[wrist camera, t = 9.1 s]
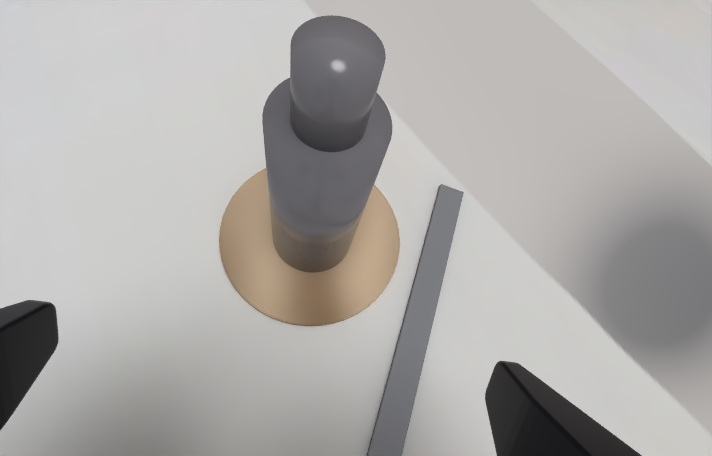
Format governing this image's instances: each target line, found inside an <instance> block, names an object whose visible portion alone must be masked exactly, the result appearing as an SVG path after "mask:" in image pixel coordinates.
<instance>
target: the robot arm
mask: <svg viewBox="0 0 712 456" xmlns="http://www.w3.org/2000/svg"><path fill="white" fill-rule="evenodd" d="M57 344H58V326H57V315H56V308H55V306H54V305H53V304H52V303H50V302H43V301H35V300H27V301H24V302H20V303H17V304H14V305H11V306H7V307H4V308H1V309H0V430H1V429H2V427H3V426H4V425H5V424H6V422H7V421H8V420H9V418H10V417H11V415H12V414H13V413H14V411H15V410H16V408H17V407H18V405H19V404H20V402H21V401H22V399H23V398H24V396H25V395H26V393H27V392H28V390H29V389H30V387H31V386H32V384H33V383H34V381H35V380H36V378H37V377H38V375H39V374H40V372H41V371H42V369H43V368H44V366H45V365H46V363H47V362H48V360H49V359H50V357H51V356H52V354H53V353H54V351H55V349H56V347H57ZM485 400H486V406H487V411H488V415H489V420H490V425H491V429H492V434H493V439H494V443H495V448H496V453H497V456H641V455H640V454H639V453H637V452H636V451H635V450H633V449H632V448H631V447H629V446H628V445H627V444H625V443H624V442H623V441H621V440H620V439H619V438H617V437H616V436H615V435H613V434H612V433H611V432H609V431H608V430H607V429H605V428H604V427H603V426H601V425H600V424H599V423H597V422H596V421H595V420H593V419H592V418H591V417H589V416H588V415H587V414H585V413H584V412H583V411H581V410H580V409H579V408H577V407H576V406H575V405H573V404H572V403H571V402H569V401H568V400H567V399H565V398H564V397H563V396H561V395H560V394H559V393H557V392H556V391H555V390H553V389H552V388H551V387H549V386H548V385H547V384H545V383H544V382H543V381H541V380H540V379H539V378H537V377H536V376H535V375H533V374H532V373H531V372H529V371H528V370H527V369H525V368H524V367H523V366H521V365H520V364H518V363H515V362H507V361H499V362H498V363H497V364H496V365H495V367H494V370H493V373H492V376H491V378H490V381H489V384H488V387H487V389H486V394H485Z"/></svg>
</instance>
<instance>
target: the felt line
mask: <svg viewBox="0 0 712 456" xmlns="http://www.w3.org/2000/svg"><path fill="white" fill-rule="evenodd" d="M462 197H463V192H462V191H459V190H456V189H453V188H450V187H448V186H445V185H442V184H441V185H440V186H439V190H438V194H437V197H436V201H435V205H434V209H433V212H432V216H431V220H430V224H429V227H428V231H427V235H426V238H425V242H424V246H423V250H422V253H421V257H420V261H419V264H418V268H417V272H416V276H415V279H414V283H413V287H412V290H411V294H410V298H409V302H408V305H407V309H406V313H405V316H404V320H403V324H402V328H401V331H400V335H399V339H398V343H397V346H396V350H395V354H394V357H393V361H392V365H391V369H390V372H389V376H388V380H387V383H386V387H385V391H384V395H383V398H382V402H381V406H380V409H379V413H378V417H377V421H376V424H375V428H374V432H373V435H372V439H371V443H370V447H369V450H368V454H367V456H401V455H402V451H403V447H404V443H405V438H406V434H407V430H408V426H409V421H410V417H411V413H412V409H413V404H414V400H415V396H416V392H417V388H418V383H419V379H420V375H421V371H422V366H423V362H424V358H425V354H426V349H427V345H428V341H429V337H430V332H431V328H432V324H433V320H434V315H435V311H436V307H437V303H438V298H439V294H440V290H441V286H442V282H443V277H444V273H445V269H446V265H447V260H448V256H449V252H450V248H451V243H452V239H453V235H454V231H455V226H456V222H457V218H458V214H459V209H460V205H461V201H462Z"/></svg>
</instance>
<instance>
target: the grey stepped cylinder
mask: <svg viewBox="0 0 712 456" xmlns="http://www.w3.org/2000/svg"><path fill="white" fill-rule="evenodd" d="M384 63H385V49H384V46H383V44H382V42H381V40H380V39H379V37H378V36H377V35H376V34H375V33H374V32H373V31H372V30H371V29H370V28H368V27H367V26H365V25H364V24H362V23H360V22H358V21H356V20H353V19H350V18H346V17H341V16H321V17H317V18H314V19H311V20H309V21H307V22H305V23H303V24H302V25H301V26H300V27H299V28H298V29H297V30H296V31H295V33H294V35H293V37H292V40H291V71H290V78H288V79H286V80H285V81H283V82H282V83H281V84H279V85H278V86H277V87H276V88H275V89H274V90H273V91H272V93H271V94H270V95H269V97H268V99H267V101H266V103H265V106H264V110H263V133H264V144H265V156H266V168H267V179H268V191H269V203H270V214H271V226H272V238H273V244H274V247H275V249H276V252H277V253H278V255H279V256H280V258H281V259H282V260H283V261H284V262H285V263H286V264H288V265H289V266H291V267H293V268H295V269H297V270H300V271H303V272H310V273H316V272H323V271H326V270H329V269H331V268H333V267H335V266H336V265H338V264H339V263H340V262H341V261H342V260H343V259H344V258H345V256H346V255H347V253H348V251H349V249H350V246H351V243H352V241H353V238H354V235H355V233H356V230H357V227H358V225H359V222H360V220H361V217H362V214H363V212H364V209H365V206H366V204H367V201H368V198H369V196H370V193H371V191H372V188H373V185H374V183H375V180H376V177H377V175H378V172H379V169H380V167H381V164H382V161H383V159H384V156H385V154H386V151H387V148H388V146H389V143H390V140H391V135H392V121H391V116H390V113H389V110H388V108H387V106H386V104H385V103H384V101H383V100H382V98H381V97H380V96H379V95H378V94H377V93H376V92H377V88H378V85H379V81H380V78H381V74H382V70H383V67H384Z"/></svg>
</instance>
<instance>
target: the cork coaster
mask: <svg viewBox="0 0 712 456" xmlns="http://www.w3.org/2000/svg"><path fill="white" fill-rule="evenodd" d="M219 242H220V253H221V257H222V262H223V265H224V267H225V270H226V273H227V275H228V277H229V279H230V280H231V282H232V284H233V286H234V287H235V288H236V290H237V291H238V292H239V294H240V295H241V296H242V297H243V298H244V299H245V300H246V301H247V302H248V303H249V304H250V305H252V306H253V307H255V308H256V309H257V310H259V311H260V312H262V313H264V314H266V315H267V316H269V317H271V318H274V319H277V320H279V321H282V322H286V323H290V324H294V325H303V326H320V325H326V324H332V323H335V322H339V321H342V320H345V319H347V318H349V317H352V316H354V315H356V314H357V313H359V312H360V311H362V310H364V309H365V308H366V307H368V306H369V305H370V304H371V303H372V302H373V301H375V299H376V298H377V297H378V296H379V295H380V294H381V293H382V291H383V290H384V289H385V287H386V286H387V284H388V283H389V281H390V279H391V277H392V275H393V273H394V271H395V268H396V264H397V261H398V256H399V247H400V238H399V229H398V225H397V221H396V218H395V215H394V213H393V210H392V208H391V206H390V205H389V203H388V201H387V199H386V198H385V197H384V195H383V194H382V193H381V191H380V190H379V189H378V188H377V187H376V186H375V185H373V188H372V191H371V193H370V196H369V198H368V201H367V204H366V206H365V209H364V212H363V214H362V217H361V220H360V222H359V225H358V227H357V230H356V233H355V235H354V238H353V241H352V243H351V246H350V249H349V251H348V253H347V255H346V256H345V258H344V259H343V260H342V261H341V262H340V263H339V264H338V265H336V266H335V267H333V268H331V269H329V270H326V271H323V272H316V273H310V272H303V271H300V270H297V269H295V268H293V267H291V266H289V265H288V264H286V263H285V262H284V261H283V260H282V259H281V258H280V256H279V255H278V253H277V252H276V249H275V247H274V244H273V238H272V226H271V214H270V203H269V191H268V179H267V168H265V169H263V170H262V171H260V172H258V173H257V174H255V175H254V176H252V177H251V178H250V179H249V180H247V181H246V182H245V183H244V184H243V185H242V186H241V187H240V188H239V189H238V191H237V192H236V193H235V194H234V196H233V197H232V199H231V200H230V202H229V204H228V206H227V208H226V210H225V213H224V215H223V218H222V223H221V227H220V237H219Z"/></svg>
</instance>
